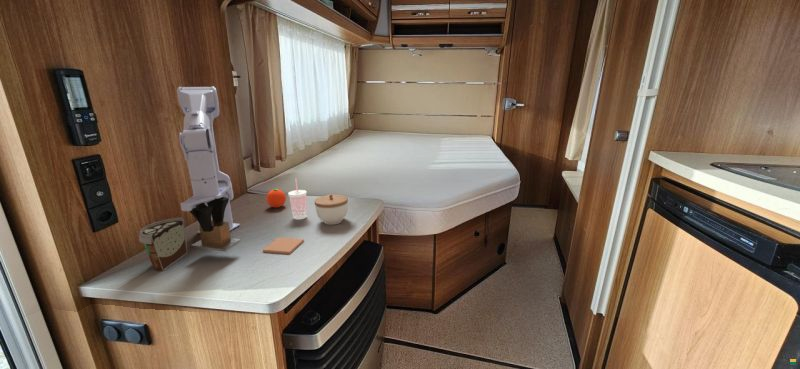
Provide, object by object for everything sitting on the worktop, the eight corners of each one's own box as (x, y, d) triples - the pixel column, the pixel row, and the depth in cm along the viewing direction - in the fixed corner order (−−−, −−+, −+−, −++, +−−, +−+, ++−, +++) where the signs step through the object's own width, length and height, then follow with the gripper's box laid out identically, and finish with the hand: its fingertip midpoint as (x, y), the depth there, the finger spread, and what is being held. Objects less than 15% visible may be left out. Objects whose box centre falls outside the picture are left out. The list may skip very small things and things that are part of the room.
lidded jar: (347, 226, 106) (345, 199, 103) (313, 228, 105) (310, 200, 103) (350, 214, 116) (348, 189, 113) (319, 216, 115) (317, 190, 113)
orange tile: (262, 249, 90) (289, 251, 88) (278, 237, 97) (303, 239, 96) (263, 253, 90) (289, 255, 88) (279, 240, 98) (304, 242, 96)
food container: (169, 250, 92) (161, 217, 89) (191, 250, 92) (184, 216, 89) (133, 274, 80) (123, 236, 77) (158, 274, 80) (149, 236, 77)
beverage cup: (311, 217, 114) (307, 178, 110) (293, 221, 111) (289, 181, 107) (305, 212, 119) (301, 175, 115) (288, 216, 116) (284, 177, 112)
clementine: (271, 203, 130) (268, 186, 128) (289, 202, 130) (287, 185, 128) (265, 210, 122) (262, 192, 120) (284, 209, 123) (282, 191, 121)
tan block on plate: (191, 247, 85) (187, 225, 84) (208, 237, 91) (205, 217, 89) (225, 251, 83) (222, 229, 82) (241, 241, 89) (238, 220, 87)
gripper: (194, 185, 75) (205, 240, 78) (237, 171, 88) (244, 218, 92) (168, 184, 76) (180, 239, 80) (214, 170, 90) (222, 217, 93)
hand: (213, 228), depth 86 cm, fingers closed on tan block on plate, 3 cm apart
